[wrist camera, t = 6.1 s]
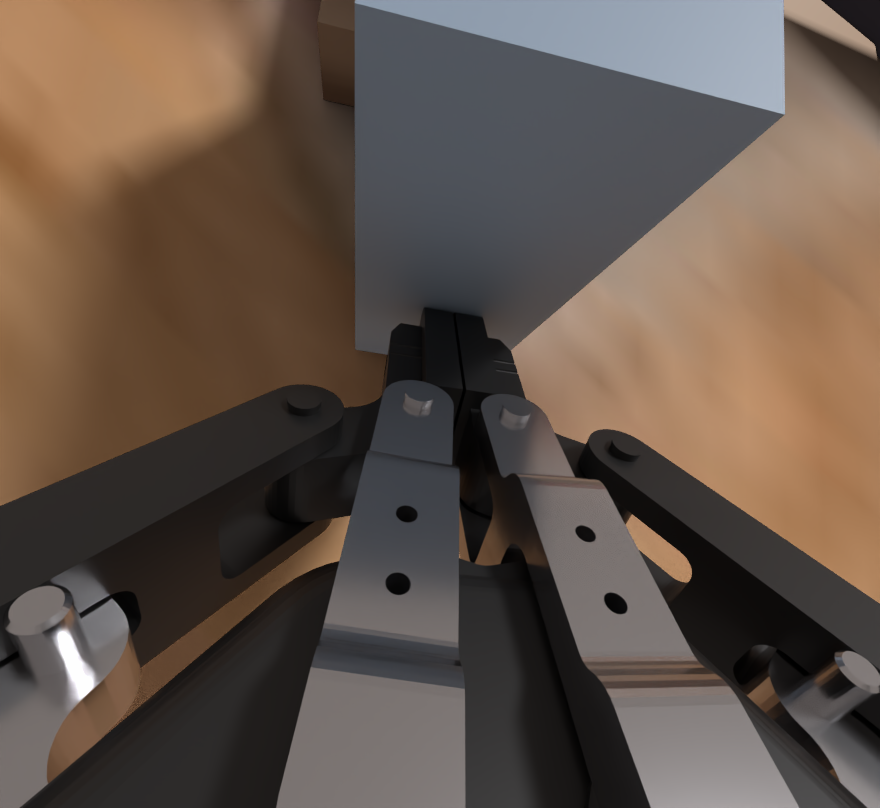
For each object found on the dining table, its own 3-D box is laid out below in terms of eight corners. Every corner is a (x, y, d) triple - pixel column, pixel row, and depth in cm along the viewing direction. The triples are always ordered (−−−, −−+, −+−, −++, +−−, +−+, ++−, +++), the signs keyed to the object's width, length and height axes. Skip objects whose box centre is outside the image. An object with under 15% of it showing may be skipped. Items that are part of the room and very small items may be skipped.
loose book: (487, 370, 17) (784, 114, 5) (355, 349, 16) (355, 3, 5) (517, 70, 19) (776, -590, 7) (402, 41, 18) (485, -735, 7)
